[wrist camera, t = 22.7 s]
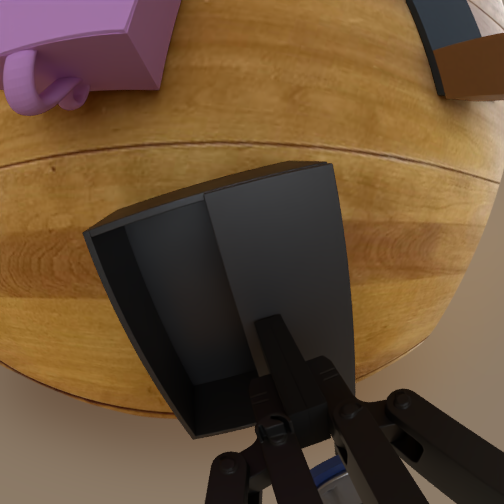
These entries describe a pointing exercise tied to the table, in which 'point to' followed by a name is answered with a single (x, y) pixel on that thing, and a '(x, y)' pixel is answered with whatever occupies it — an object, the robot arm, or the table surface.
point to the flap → (289, 261)
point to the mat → (442, 27)
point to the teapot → (80, 49)
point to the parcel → (473, 69)
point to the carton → (181, 302)
